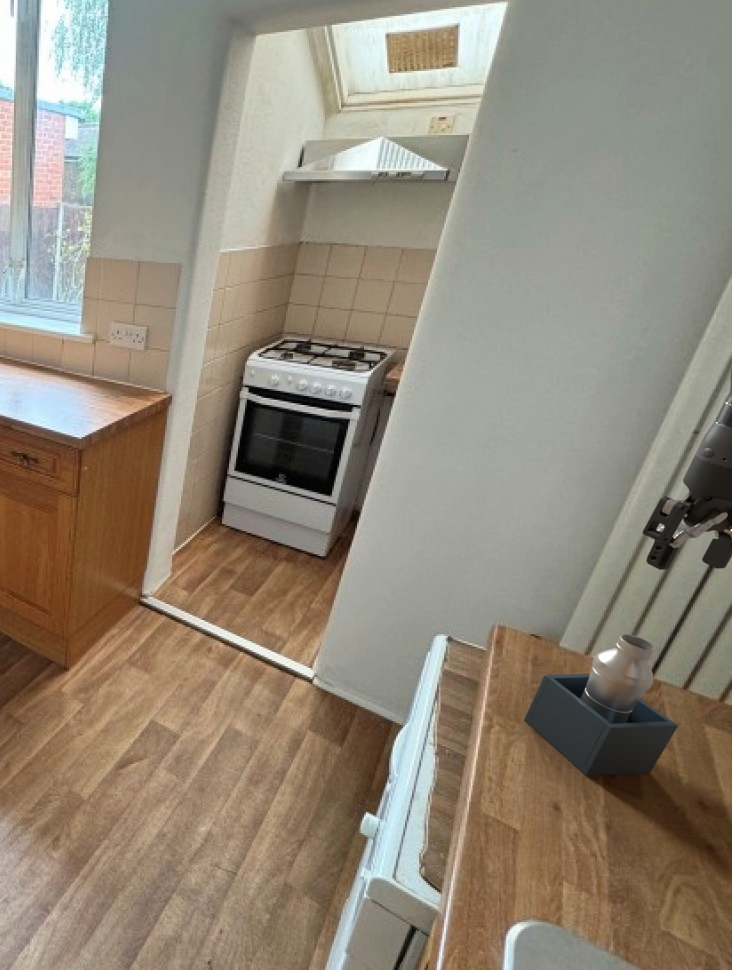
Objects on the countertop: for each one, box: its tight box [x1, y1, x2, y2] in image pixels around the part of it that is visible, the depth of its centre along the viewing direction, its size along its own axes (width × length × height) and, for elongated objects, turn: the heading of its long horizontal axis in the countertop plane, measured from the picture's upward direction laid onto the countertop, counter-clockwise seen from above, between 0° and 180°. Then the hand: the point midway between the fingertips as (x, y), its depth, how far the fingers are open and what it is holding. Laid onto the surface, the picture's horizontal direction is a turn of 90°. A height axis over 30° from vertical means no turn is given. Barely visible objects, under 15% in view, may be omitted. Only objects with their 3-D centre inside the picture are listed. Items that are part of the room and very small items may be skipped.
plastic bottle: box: [580, 633, 656, 724], centre depth 92 cm, size 6×7×20 cm
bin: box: [523, 673, 679, 777], centre depth 95 cm, size 11×11×10 cm
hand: (684, 566), depth 83 cm, fingers open, 8 cm apart
